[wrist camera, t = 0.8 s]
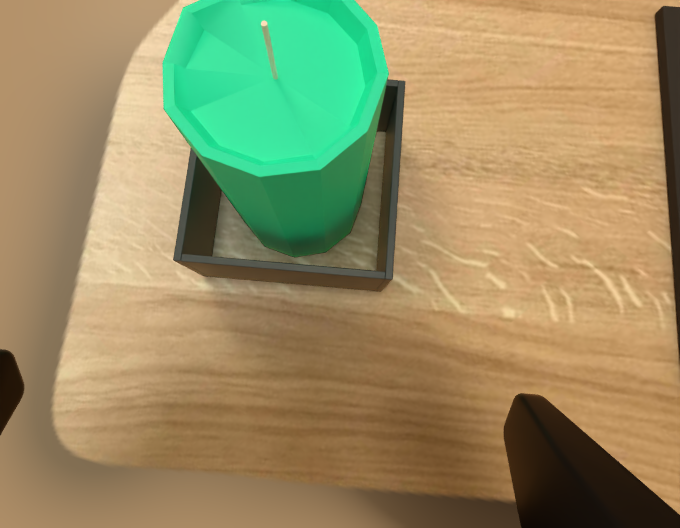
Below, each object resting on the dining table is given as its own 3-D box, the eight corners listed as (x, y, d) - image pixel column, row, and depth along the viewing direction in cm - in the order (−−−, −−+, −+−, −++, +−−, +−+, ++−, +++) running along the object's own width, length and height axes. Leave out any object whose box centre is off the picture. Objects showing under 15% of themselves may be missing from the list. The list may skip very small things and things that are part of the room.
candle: (365, 148, 22) (405, -75, 10) (355, 263, 21) (387, 161, 9) (249, 137, 22) (154, -101, 10) (232, 251, 21) (105, 133, 9)
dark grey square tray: (381, 291, 21) (392, 279, 17) (202, 275, 21) (172, 260, 17) (392, 126, 22) (405, 80, 18) (226, 111, 22) (204, 62, 18)
